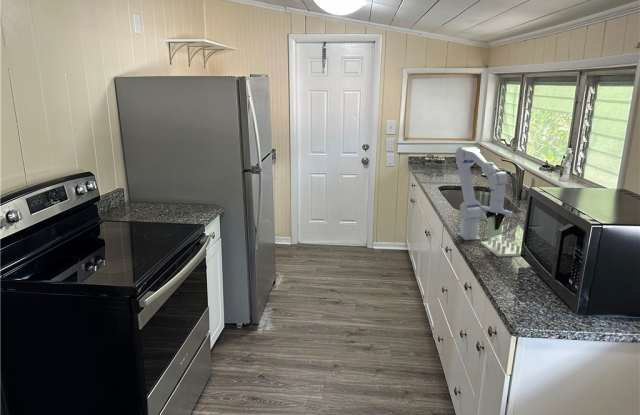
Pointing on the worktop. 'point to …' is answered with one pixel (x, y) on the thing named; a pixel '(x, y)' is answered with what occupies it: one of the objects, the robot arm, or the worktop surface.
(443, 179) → the worktop surface
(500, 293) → the worktop surface
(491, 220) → the pale green tall block
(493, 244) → the rack
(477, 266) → the worktop surface
